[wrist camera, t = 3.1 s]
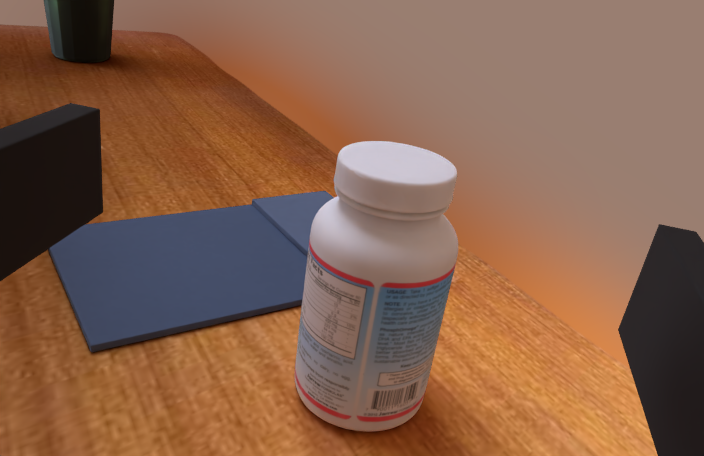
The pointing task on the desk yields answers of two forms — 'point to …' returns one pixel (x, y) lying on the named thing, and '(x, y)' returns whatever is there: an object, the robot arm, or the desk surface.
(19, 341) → the desk surface
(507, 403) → the desk surface
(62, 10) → the potion bottle
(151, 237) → the notebook
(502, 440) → the desk surface
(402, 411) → the pill bottle
